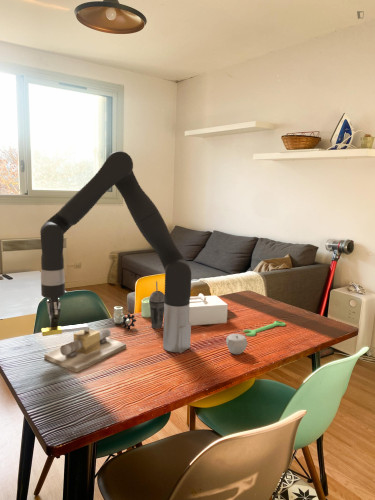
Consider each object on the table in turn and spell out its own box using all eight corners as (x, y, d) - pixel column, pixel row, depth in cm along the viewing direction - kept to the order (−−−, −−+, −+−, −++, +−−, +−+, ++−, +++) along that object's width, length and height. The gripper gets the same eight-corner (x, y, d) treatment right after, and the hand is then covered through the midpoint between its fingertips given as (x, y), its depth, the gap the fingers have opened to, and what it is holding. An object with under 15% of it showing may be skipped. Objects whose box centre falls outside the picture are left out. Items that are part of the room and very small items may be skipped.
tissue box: (226, 323, 167) (228, 299, 165) (172, 327, 159) (173, 302, 157) (214, 312, 180) (216, 290, 178) (164, 316, 173) (165, 293, 171)
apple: (233, 358, 131) (234, 341, 130) (220, 350, 138) (221, 333, 137) (251, 355, 135) (252, 337, 134) (238, 346, 142) (239, 330, 141)
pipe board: (126, 347, 137) (126, 328, 136) (76, 372, 118) (76, 350, 117) (95, 337, 146) (95, 318, 144) (44, 358, 126) (43, 337, 125)
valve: (109, 322, 162) (121, 331, 153) (109, 307, 161) (122, 315, 152) (122, 319, 166) (136, 328, 157) (123, 305, 165) (136, 312, 156)
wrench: (239, 335, 156) (249, 339, 151) (240, 330, 155) (249, 334, 151) (278, 322, 171) (288, 325, 167) (278, 318, 170) (288, 321, 166)
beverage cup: (168, 325, 160) (169, 280, 157) (160, 331, 154) (161, 284, 151) (153, 322, 163) (154, 278, 160) (145, 327, 157) (145, 281, 154)
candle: (147, 318, 168) (148, 300, 167) (139, 315, 171) (139, 298, 169) (154, 315, 172) (154, 298, 171) (146, 313, 175) (146, 296, 174)
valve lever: (88, 330, 132) (88, 322, 132) (90, 333, 130) (90, 325, 129) (41, 336, 125) (41, 328, 125) (42, 339, 123) (42, 331, 122)
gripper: (68, 285, 122) (68, 335, 125) (61, 276, 133) (62, 322, 136) (43, 287, 118) (45, 339, 121) (38, 277, 130) (40, 325, 133)
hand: (54, 330), depth 129 cm, fingers closed
